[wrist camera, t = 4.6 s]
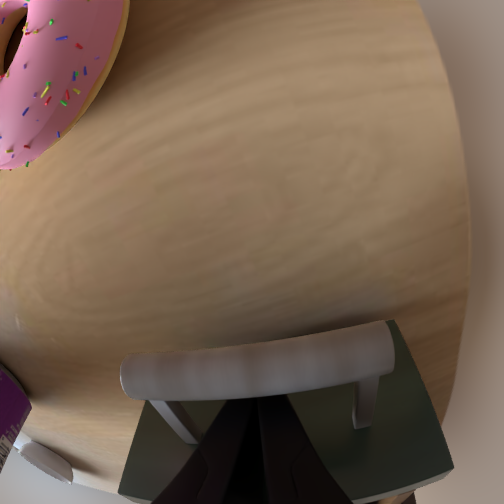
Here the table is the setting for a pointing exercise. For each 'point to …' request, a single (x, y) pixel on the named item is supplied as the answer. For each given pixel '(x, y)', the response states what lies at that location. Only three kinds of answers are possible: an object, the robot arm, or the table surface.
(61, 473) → the saucepan
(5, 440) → the beverage can
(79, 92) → the doughnut
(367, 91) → the table surface
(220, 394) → the drawer
